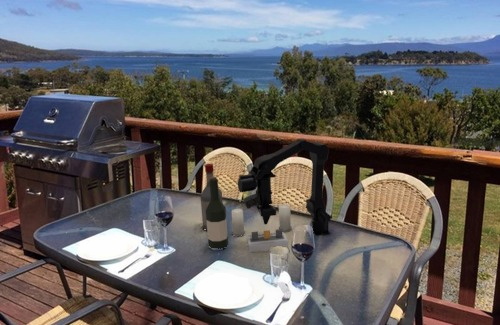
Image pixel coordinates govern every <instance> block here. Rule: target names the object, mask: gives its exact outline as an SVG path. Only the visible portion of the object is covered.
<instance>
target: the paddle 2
mask: <svg viewBox="0 0 500 325" xmlns="http://www.w3.org/2000/svg"><path fill="white" fill-rule="evenodd" d="M275 233H276V238H279V237H282V229H279V228H277V229H275Z"/></svg>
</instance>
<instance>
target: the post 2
mask: <svg viewBox="0 0 500 325" xmlns="http://www.w3.org/2000/svg"><path fill="white" fill-rule="evenodd" d="M278 220H279V222H278V223H279V224H278V225H279V226H278V229H282V232H283V233H289V232H292V230H293V228H292V226H291V224H292V223H291V221H292V220H291V205H289V204H285V203H283V204H280V205H279V206H278Z"/></svg>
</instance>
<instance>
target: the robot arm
mask: <svg viewBox="0 0 500 325" xmlns="http://www.w3.org/2000/svg"><path fill="white" fill-rule="evenodd" d="M329 150H330V149H329V147H328V146H327V145H326V144H323V143H321V142H319V141H315V142H314V141H313V142H311V141H308V140H305V139H303V138H298V139H296V140H295V141H293V142H292V143H289V144H287V145H286V146H284V147H282V148H281V149H279V150H277V151H274V152H273V153H270V154H265V155H262V156H259V157H257V158H255V159H254V164H253V167H252V168H251V169H250V170H249V174H240V175H238V179H237V189H238V191H239V192H240V193H246V192H247V193H248V192H253V191H255V193H253V194H251V195H248V196H247V197H244V198H243V203H244V204H245V207H246V209H247V210H248V209H251V208H253V207H254V206H256V208H257V211H258V213H259V215H260V217H262V221H263V225H268V223H269V220H270V219H271V216H273V217H274V216H277V209H276V208H275V206H274V205H273V200H272V195H273V191H272V182H271V181H272V178H276V175H275V174H274V173H273V170H275V169H276V168H277V166H278V165H279V164H280V163H282V162H284V161H285V160H288V159H289V158H291V157H293V156H294V155H297V154H298V153H300V152H301V151H307V152H309V158H310V160H311V164H312V166H311V167H312V168H311V190H310V191H311V196H310V198H306V201H305V202H306V205H305V209H306V210H307V212H308V213H309V214H310V216H311V217H312V220H311V225H310V226H312V228H313V231H314V232H313V231H312V232H313V234H314V236H319V235H328V234H329V235H330V231H329V222H330V221H331V219H332V215H330V214H329V213H328V212H327V210H326V204H325V201H324V198H323V194H324V192H323V191H324V171H325V170H324V168H325V164H326V162H327V161H328V158H329V152H330V151H329Z"/></svg>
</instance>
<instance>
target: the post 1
mask: <svg viewBox="0 0 500 325" xmlns="http://www.w3.org/2000/svg"><path fill="white" fill-rule="evenodd" d="M231 222H232V231H231V235H232V234H233V235H235V236H241V235H244V234H245V235H246V231H245V223H244V210H243V208H234V209H232V210H231ZM233 235H232V236H233ZM245 235H244V236H245ZM235 236H234V237H235ZM241 237H242V236H241Z"/></svg>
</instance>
